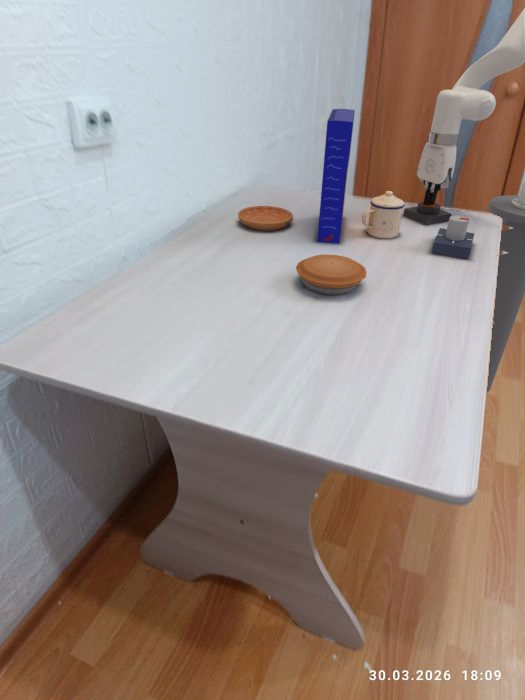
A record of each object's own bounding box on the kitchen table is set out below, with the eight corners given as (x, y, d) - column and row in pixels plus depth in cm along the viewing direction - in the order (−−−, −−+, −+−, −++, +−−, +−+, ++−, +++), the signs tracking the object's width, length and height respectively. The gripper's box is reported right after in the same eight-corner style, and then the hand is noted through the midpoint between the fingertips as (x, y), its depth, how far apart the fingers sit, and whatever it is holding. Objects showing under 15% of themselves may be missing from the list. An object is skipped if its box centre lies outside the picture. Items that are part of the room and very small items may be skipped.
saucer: (295, 217, 146) (295, 207, 145) (289, 235, 133) (289, 224, 131) (243, 213, 148) (243, 203, 146) (233, 230, 135) (232, 220, 133)
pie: (288, 294, 103) (289, 273, 100) (302, 266, 115) (303, 246, 113) (360, 304, 100) (364, 282, 97) (367, 274, 112) (370, 254, 109)
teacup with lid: (386, 226, 141) (392, 185, 134) (405, 236, 134) (413, 194, 127) (351, 231, 137) (356, 189, 130) (369, 242, 130) (375, 199, 123)
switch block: (426, 211, 154) (429, 198, 151) (450, 220, 146) (453, 207, 144) (403, 215, 150) (405, 202, 147) (425, 225, 142) (428, 211, 140)
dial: (444, 238, 124) (449, 218, 121) (446, 233, 128) (450, 213, 125) (463, 241, 123) (469, 221, 120) (464, 235, 126) (470, 216, 124)
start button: (428, 207, 149) (429, 202, 148) (436, 211, 146) (438, 205, 145) (419, 209, 147) (420, 203, 146) (427, 212, 145) (429, 206, 144)
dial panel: (437, 238, 133) (439, 227, 131) (471, 243, 130) (474, 232, 128) (431, 253, 124) (434, 241, 122) (467, 259, 121) (471, 247, 119)
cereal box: (339, 243, 128) (353, 121, 112) (317, 241, 129) (327, 119, 113) (342, 218, 146) (355, 109, 130) (323, 216, 147) (332, 108, 131)
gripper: (414, 135, 139) (402, 199, 150) (453, 145, 129) (437, 213, 139) (433, 134, 142) (420, 196, 153) (473, 143, 132) (456, 209, 142)
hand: (428, 204), depth 146 cm, fingers closed
